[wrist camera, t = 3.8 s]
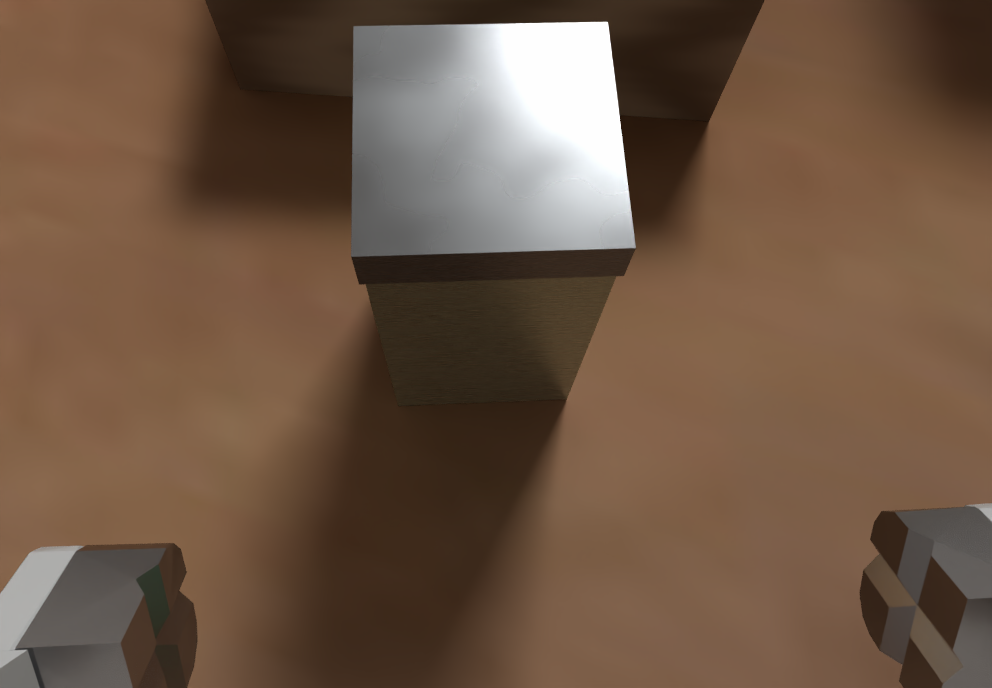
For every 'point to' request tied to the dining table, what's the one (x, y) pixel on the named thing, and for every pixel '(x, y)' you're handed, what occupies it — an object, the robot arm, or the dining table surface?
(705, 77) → the walnut box
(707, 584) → the dining table surface
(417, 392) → the sage tea tin
